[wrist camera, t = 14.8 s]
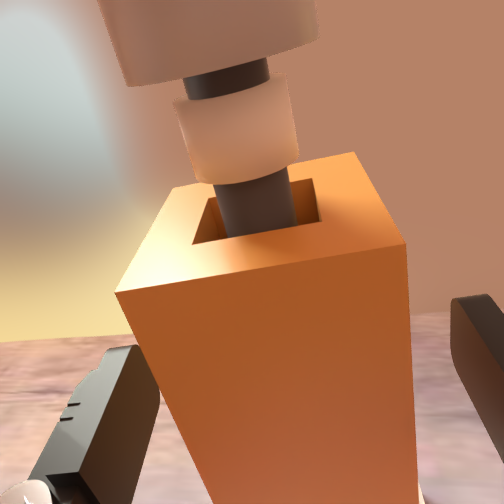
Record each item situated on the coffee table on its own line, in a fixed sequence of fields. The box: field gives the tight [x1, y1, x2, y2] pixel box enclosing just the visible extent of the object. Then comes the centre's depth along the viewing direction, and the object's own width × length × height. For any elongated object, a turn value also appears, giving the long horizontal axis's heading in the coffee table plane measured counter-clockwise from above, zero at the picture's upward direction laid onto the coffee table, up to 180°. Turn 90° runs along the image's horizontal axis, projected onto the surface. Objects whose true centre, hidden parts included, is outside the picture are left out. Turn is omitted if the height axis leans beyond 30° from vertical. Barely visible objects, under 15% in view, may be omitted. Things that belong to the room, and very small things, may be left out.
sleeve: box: [114, 152, 419, 504], centre depth 11 cm, size 5×5×8 cm
